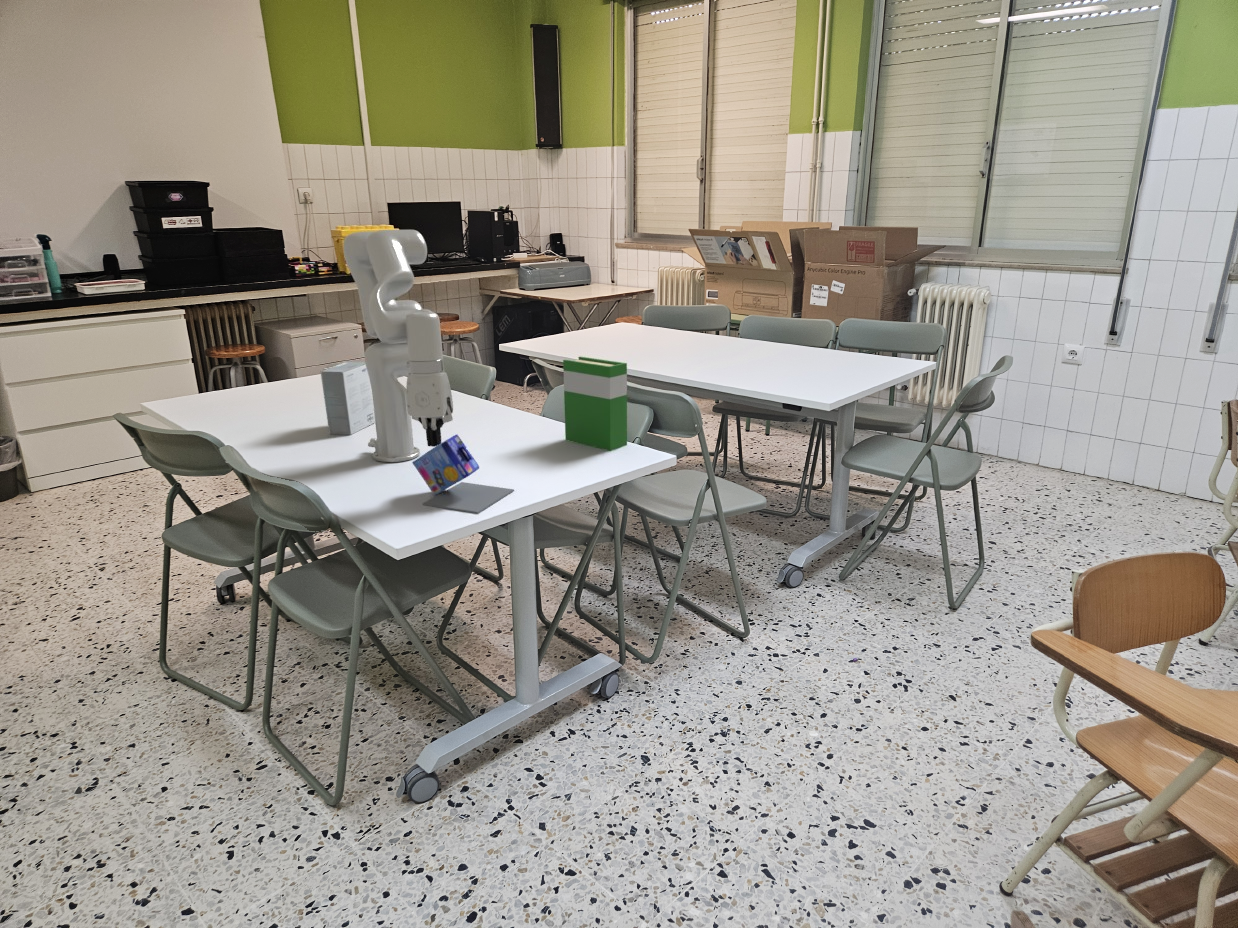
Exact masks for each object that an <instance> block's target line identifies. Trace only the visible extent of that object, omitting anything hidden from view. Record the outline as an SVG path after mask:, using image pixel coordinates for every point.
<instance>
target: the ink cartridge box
mask: <svg viewBox="0 0 1238 928" xmlns="http://www.w3.org/2000/svg"><path fill="white" fill-rule="evenodd" d="M412 465H413V466H414V467H415V469H416V471H417V472H418V473H419V475H420V476H421V478H422V479H423V481H424V483H425V484H426V485H427V486H428V488H429V490H430V491H431V493H432V494H433V495H434V496H437V495H439V494H441V493H442V492H444V491H446V490H448V489H450V488H451V487H453V486H455V485H457V483H460V482H462V481H463V480H464V479H466V478H468V477H470V475H473V473H476V471H478V470H479V469H480V466H479V464H478V462H477V461H476V459H475V458H474V457H473V455H472V454H471V453H470V451H469V450H468V449H467V445H465V443H464V442H463V440H462V439H461V437H459V435H458V433H457V434H455V435H453V436H451V437H449V438H447V439H446V440H444V441H441V444H439V445H437V446H435V447H433V448H431V449H430V450H428V451H427V452H425V453H423V454H421V456H418V457H417V458H416V459H415V460H414V461H412Z"/></svg>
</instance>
